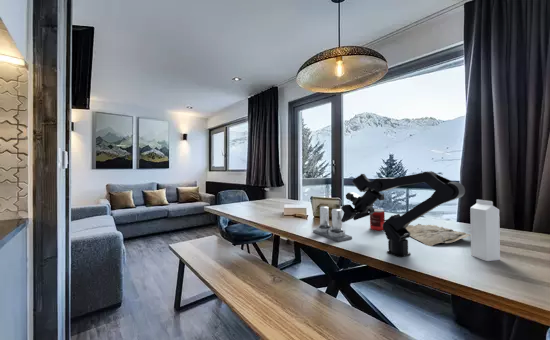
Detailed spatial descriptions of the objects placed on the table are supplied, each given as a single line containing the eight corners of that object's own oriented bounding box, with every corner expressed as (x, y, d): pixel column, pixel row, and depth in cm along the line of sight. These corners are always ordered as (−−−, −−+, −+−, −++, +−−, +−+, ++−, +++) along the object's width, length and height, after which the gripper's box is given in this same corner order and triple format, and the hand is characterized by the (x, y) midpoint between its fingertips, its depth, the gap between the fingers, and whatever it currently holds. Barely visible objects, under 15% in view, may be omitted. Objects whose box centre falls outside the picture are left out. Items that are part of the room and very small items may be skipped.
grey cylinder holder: (352, 239, 117) (351, 210, 117) (338, 242, 113) (337, 212, 112) (326, 229, 135) (325, 205, 134) (313, 232, 130) (312, 206, 130)
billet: (343, 234, 120) (343, 209, 120) (338, 237, 116) (338, 210, 116) (335, 233, 123) (335, 208, 123) (330, 235, 120) (330, 209, 120)
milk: (483, 254, 93) (482, 198, 93) (500, 260, 87) (499, 200, 87) (470, 255, 92) (469, 199, 92) (486, 261, 86) (485, 201, 86)
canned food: (381, 227, 137) (381, 208, 137) (387, 231, 129) (386, 211, 129) (368, 227, 138) (368, 208, 138) (372, 231, 130) (372, 211, 130)
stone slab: (486, 248, 101) (486, 237, 101) (419, 248, 104) (418, 237, 104) (442, 228, 134) (442, 219, 133) (392, 228, 137) (392, 220, 137)
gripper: (368, 186, 117) (349, 206, 125) (344, 187, 106) (326, 209, 114) (383, 203, 110) (363, 223, 119) (359, 206, 99) (339, 228, 108)
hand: (348, 220), depth 115 cm, fingers open, 9 cm apart
